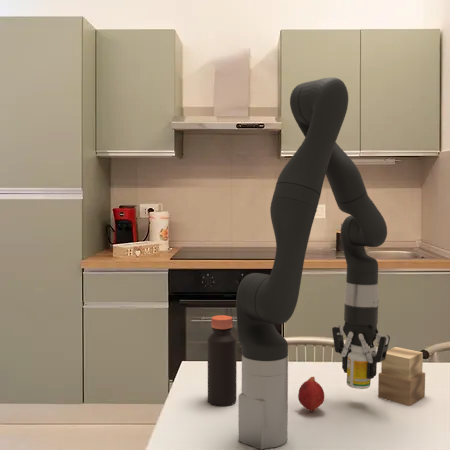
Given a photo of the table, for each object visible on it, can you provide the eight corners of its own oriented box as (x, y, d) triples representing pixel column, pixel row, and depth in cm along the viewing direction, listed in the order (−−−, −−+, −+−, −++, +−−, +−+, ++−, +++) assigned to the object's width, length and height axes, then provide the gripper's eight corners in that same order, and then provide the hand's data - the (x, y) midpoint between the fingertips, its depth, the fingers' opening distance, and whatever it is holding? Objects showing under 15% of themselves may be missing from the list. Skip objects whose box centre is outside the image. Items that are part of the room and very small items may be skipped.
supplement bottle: (341, 384, 135) (343, 343, 135) (356, 380, 139) (357, 340, 138) (360, 391, 131) (362, 348, 131) (375, 386, 135) (376, 345, 134)
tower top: (408, 380, 135) (409, 358, 135) (381, 373, 140) (381, 352, 140) (422, 372, 140) (422, 352, 140) (395, 366, 145) (395, 346, 145)
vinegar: (235, 407, 134) (235, 321, 133) (206, 406, 135) (206, 320, 133) (237, 396, 141) (237, 314, 140) (209, 395, 142) (208, 314, 140)
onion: (304, 417, 128) (304, 382, 128) (294, 408, 134) (294, 373, 133) (328, 414, 130) (328, 379, 129) (317, 405, 135) (317, 371, 135)
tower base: (409, 406, 135) (410, 381, 134) (378, 397, 140) (378, 373, 140) (424, 397, 141) (425, 372, 140) (393, 389, 146) (394, 365, 146)
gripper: (325, 300, 136) (323, 371, 137) (382, 309, 126) (379, 386, 127) (342, 296, 142) (340, 365, 142) (398, 304, 132) (395, 378, 133)
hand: (358, 374), depth 135 cm, fingers closed on supplement bottle, 5 cm apart
